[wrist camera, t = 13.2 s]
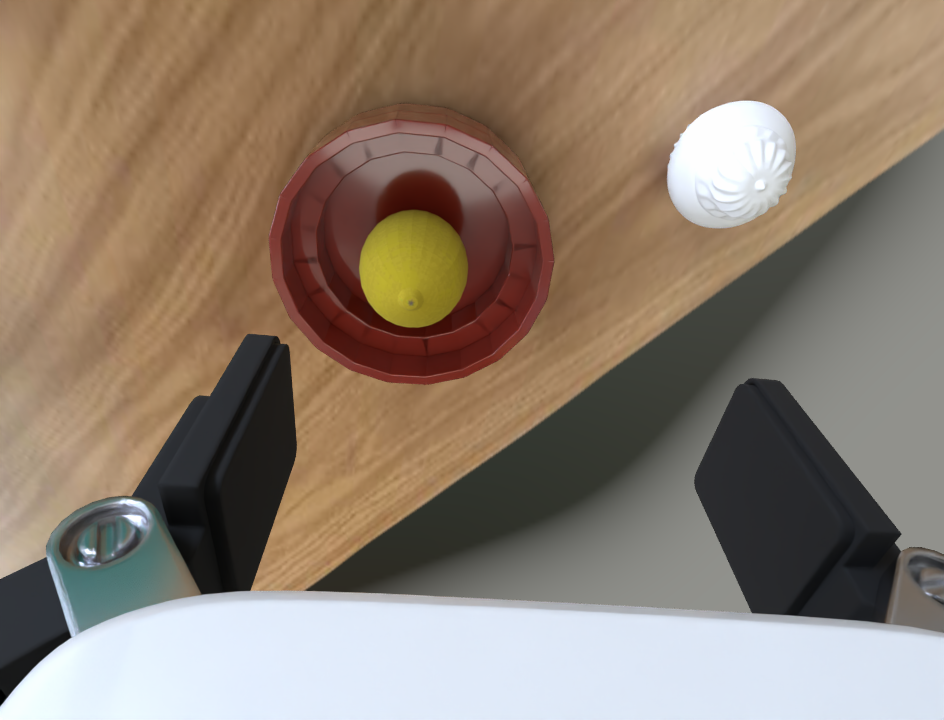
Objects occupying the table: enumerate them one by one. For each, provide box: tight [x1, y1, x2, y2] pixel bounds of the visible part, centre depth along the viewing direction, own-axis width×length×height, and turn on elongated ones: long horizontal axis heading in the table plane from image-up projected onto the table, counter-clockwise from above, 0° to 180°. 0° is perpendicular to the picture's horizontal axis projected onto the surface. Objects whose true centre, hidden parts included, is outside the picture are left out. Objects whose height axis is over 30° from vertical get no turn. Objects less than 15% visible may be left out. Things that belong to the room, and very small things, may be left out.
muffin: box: [667, 101, 796, 228], centre depth 28 cm, size 6×6×7 cm
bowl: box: [269, 103, 554, 385], centre depth 31 cm, size 14×14×5 cm
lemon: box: [359, 210, 468, 328], centre depth 29 cm, size 6×6×8 cm
